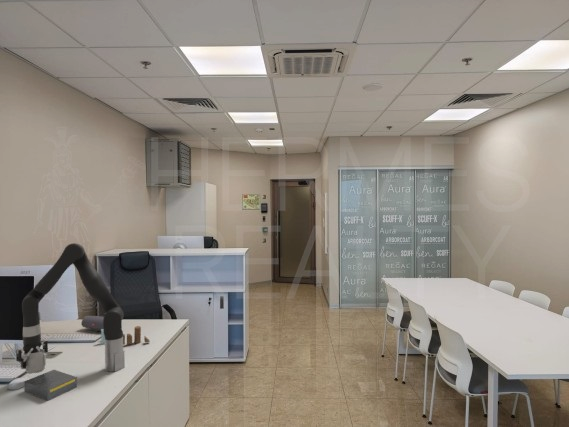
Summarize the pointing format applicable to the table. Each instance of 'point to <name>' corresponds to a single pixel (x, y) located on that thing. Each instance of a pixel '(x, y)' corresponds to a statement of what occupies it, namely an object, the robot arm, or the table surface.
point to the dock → (50, 384)
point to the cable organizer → (35, 362)
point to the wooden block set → (135, 336)
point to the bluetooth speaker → (93, 322)
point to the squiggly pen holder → (102, 336)
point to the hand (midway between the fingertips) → (32, 365)
